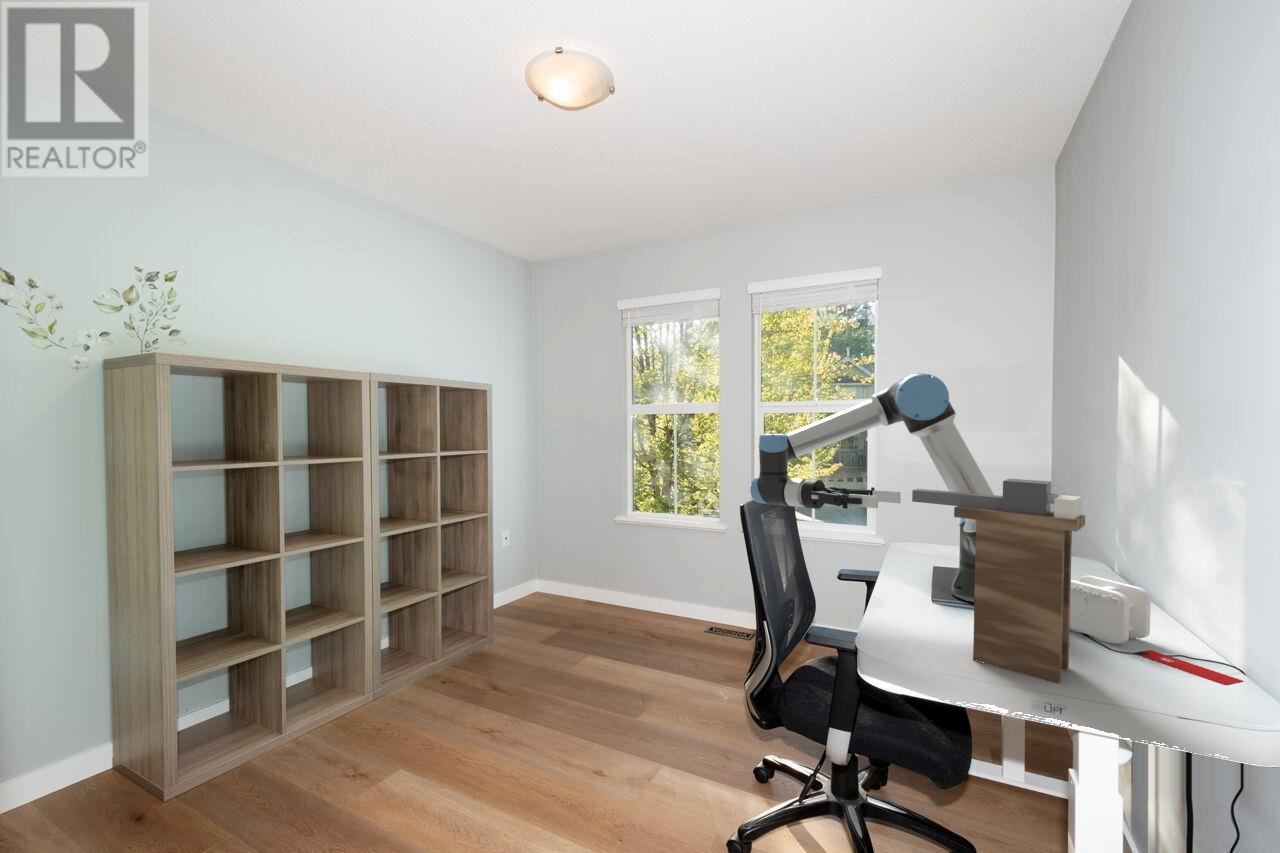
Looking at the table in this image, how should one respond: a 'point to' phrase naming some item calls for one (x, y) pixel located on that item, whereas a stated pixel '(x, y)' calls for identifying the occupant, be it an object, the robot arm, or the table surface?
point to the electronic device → (1189, 667)
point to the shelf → (1022, 590)
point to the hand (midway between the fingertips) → (889, 499)
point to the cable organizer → (1109, 609)
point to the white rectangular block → (1067, 507)
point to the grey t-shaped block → (997, 497)
